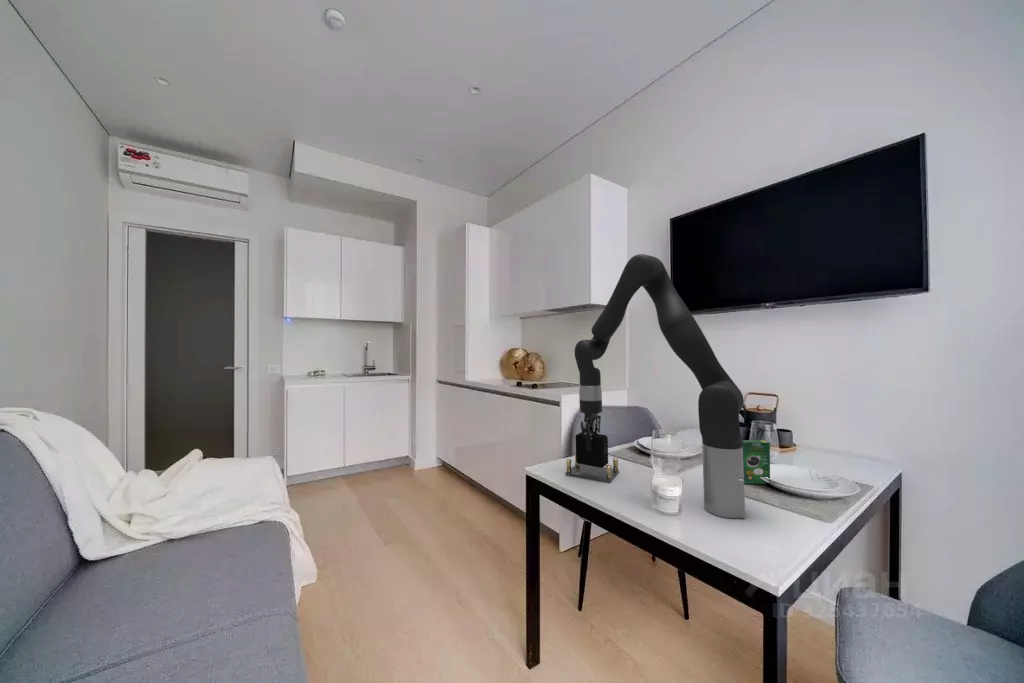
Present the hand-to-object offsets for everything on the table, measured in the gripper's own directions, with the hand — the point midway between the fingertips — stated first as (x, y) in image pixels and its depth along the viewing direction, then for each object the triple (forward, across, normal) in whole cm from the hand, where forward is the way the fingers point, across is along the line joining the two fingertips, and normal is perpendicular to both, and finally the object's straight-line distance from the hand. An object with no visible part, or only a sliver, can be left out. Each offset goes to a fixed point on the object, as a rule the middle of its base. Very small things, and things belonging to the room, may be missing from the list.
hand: (591, 448), depth 124 cm
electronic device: (+6, 0, 0) cm, 6 cm away
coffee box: (+9, +16, -47) cm, 50 cm away
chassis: (+9, 0, 0) cm, 9 cm away
